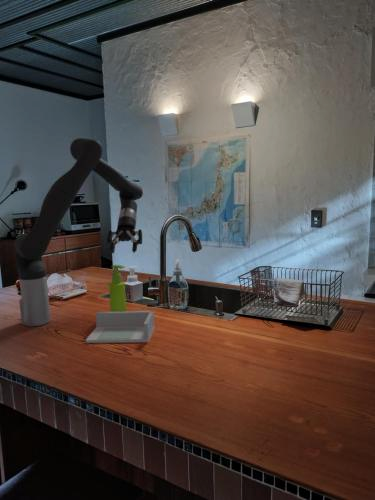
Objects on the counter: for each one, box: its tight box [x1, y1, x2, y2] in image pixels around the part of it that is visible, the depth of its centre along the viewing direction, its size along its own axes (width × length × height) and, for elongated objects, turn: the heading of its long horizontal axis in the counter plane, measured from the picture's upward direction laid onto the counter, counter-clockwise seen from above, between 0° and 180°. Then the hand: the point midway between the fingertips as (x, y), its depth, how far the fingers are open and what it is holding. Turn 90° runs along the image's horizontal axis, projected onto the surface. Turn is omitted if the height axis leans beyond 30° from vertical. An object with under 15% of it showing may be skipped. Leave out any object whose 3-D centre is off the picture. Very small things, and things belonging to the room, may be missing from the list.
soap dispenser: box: [108, 264, 127, 312], centre depth 146 cm, size 6×7×20 cm
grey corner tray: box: [85, 310, 155, 344], centre depth 128 cm, size 20×13×6 cm, turn 87°
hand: (123, 251), depth 155 cm, fingers open, 8 cm apart
